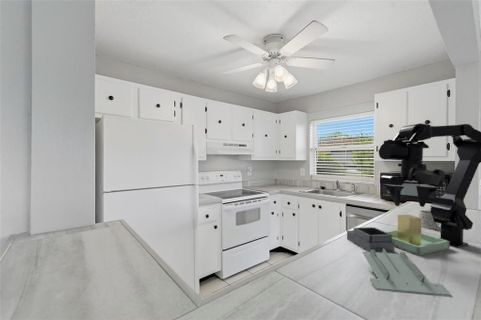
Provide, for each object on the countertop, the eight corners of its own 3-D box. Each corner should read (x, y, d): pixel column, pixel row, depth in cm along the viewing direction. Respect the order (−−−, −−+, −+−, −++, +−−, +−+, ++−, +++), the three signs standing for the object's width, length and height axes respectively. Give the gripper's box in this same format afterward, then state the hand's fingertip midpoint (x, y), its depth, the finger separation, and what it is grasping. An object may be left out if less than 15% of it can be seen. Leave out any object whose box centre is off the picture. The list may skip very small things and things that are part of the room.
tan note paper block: (408, 239, 75) (409, 214, 75) (421, 244, 71) (421, 218, 71) (397, 240, 75) (397, 214, 75) (409, 245, 70) (409, 218, 70)
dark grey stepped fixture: (368, 238, 78) (368, 224, 78) (394, 251, 67) (394, 235, 67) (346, 238, 77) (347, 225, 77) (370, 252, 66) (370, 236, 66)
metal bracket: (354, 243, 59) (413, 247, 57) (351, 260, 61) (409, 264, 58) (379, 287, 45) (458, 294, 43) (375, 308, 47) (451, 315, 45)
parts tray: (404, 234, 82) (405, 228, 82) (449, 248, 70) (449, 241, 70) (376, 239, 77) (376, 232, 77) (418, 255, 64) (418, 247, 64)
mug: (441, 230, 88) (441, 214, 88) (420, 228, 92) (420, 212, 92) (435, 224, 96) (435, 210, 96) (416, 222, 100) (416, 208, 100)
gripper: (407, 159, 64) (405, 211, 64) (462, 162, 66) (460, 212, 66) (379, 159, 75) (377, 203, 75) (427, 162, 77) (425, 205, 77)
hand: (409, 206), depth 73 cm, fingers open, 9 cm apart
